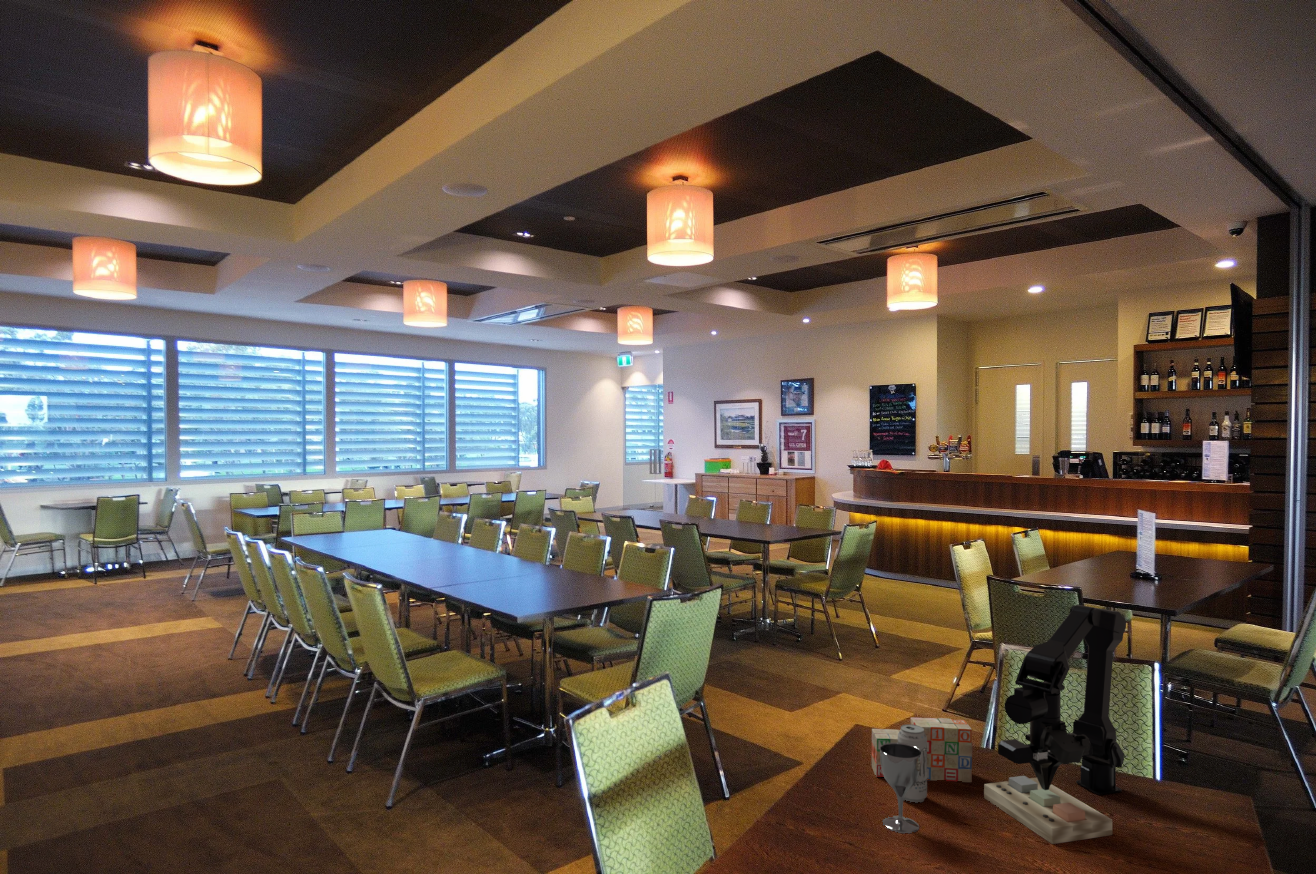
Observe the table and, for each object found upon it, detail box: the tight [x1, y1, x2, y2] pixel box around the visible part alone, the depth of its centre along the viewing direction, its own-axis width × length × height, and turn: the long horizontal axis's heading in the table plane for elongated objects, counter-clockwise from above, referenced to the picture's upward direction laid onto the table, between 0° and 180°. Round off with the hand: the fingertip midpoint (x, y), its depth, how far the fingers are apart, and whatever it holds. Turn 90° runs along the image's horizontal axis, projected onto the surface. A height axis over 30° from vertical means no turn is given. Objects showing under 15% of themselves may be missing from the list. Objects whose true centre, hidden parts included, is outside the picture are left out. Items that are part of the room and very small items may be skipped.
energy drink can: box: [898, 723, 928, 804], centre depth 170 cm, size 6×6×15 cm
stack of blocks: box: [871, 717, 973, 783], centre depth 182 cm, size 21×6×12 cm, turn 84°
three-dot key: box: [1008, 775, 1038, 793], centre depth 168 cm, size 4×4×2 cm
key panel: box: [983, 777, 1113, 845], centre depth 162 cm, size 14×20×3 cm
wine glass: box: [880, 743, 921, 834], centre depth 158 cm, size 8×8×15 cm
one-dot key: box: [1030, 789, 1060, 807], centre depth 162 cm, size 4×4×2 cm
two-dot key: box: [1053, 802, 1085, 822], centre depth 156 cm, size 4×4×2 cm
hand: (1045, 789), depth 162 cm, fingers closed
